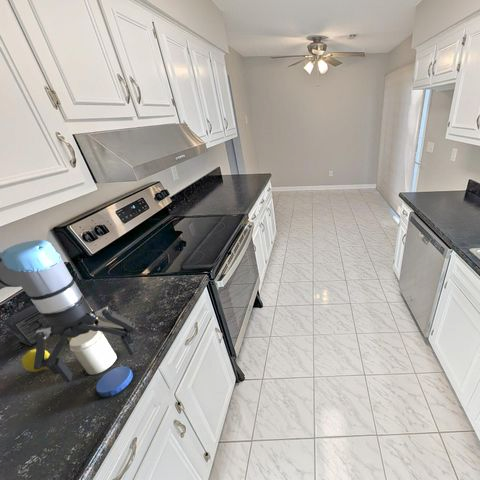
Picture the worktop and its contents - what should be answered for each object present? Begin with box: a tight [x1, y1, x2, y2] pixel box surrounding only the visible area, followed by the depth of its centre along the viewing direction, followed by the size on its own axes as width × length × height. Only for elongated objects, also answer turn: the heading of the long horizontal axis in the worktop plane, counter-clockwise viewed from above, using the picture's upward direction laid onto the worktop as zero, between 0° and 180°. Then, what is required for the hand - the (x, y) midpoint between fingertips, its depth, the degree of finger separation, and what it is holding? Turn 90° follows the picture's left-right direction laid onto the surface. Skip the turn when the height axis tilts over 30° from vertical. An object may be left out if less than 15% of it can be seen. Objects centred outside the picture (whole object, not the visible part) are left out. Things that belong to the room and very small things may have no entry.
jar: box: [69, 330, 118, 376], centre depth 76 cm, size 8×8×12 cm
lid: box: [95, 365, 134, 398], centre depth 72 cm, size 8×8×2 cm
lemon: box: [21, 348, 51, 373], centre depth 76 cm, size 6×6×8 cm
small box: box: [2, 304, 52, 347], centre depth 90 cm, size 11×6×10 cm, turn 161°
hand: (102, 364), depth 69 cm, fingers open, 13 cm apart
